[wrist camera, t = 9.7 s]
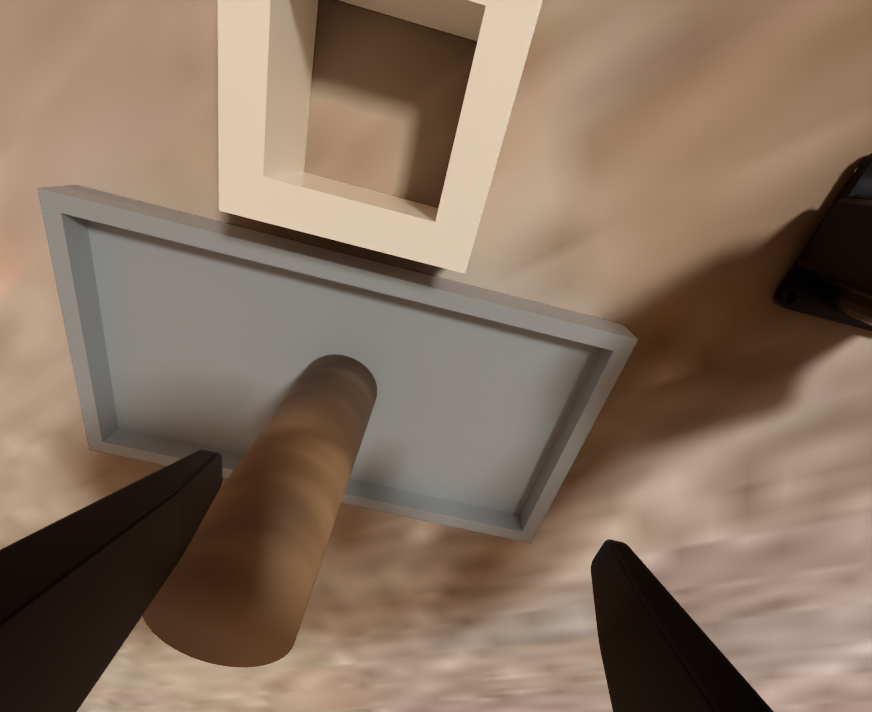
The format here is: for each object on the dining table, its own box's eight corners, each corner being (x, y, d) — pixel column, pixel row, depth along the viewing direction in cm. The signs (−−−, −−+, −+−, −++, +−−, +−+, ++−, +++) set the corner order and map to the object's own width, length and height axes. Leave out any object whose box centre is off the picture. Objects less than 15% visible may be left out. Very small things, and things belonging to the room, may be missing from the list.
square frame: (531, 2, 14) (556, -49, 11) (463, 250, 18) (465, 273, 15) (280, -75, 14) (216, -157, 10) (267, 199, 18) (218, 210, 14)
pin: (383, 364, 20) (301, 594, 10) (370, 426, 22) (289, 677, 11) (306, 346, 20) (133, 561, 9) (299, 409, 22) (148, 652, 11)
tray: (623, 324, 19) (638, 339, 18) (525, 519, 26) (530, 543, 24) (75, 184, 18) (36, 187, 16) (114, 429, 24) (89, 449, 22)
